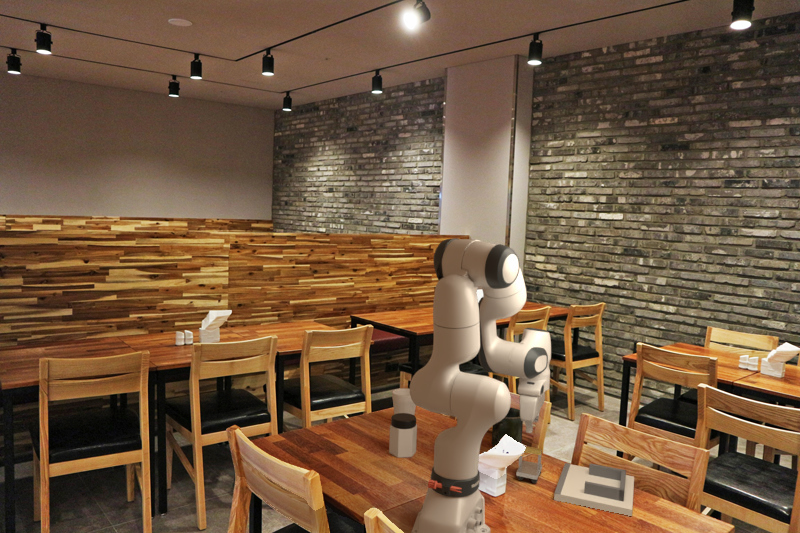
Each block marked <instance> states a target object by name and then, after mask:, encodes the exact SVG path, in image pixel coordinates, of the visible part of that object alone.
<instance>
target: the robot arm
mask: <svg viewBox="0 0 800 533" xmlns="http://www.w3.org/2000/svg"><path fill="white" fill-rule="evenodd" d="M520 266H521V265H520V258H519V256H518V254H517V252H516V251H515V250H514V249H513V248H511V247H510V246H507V245H504V244H495V243H492V242H488V241H481V240H479V239H467V238H466V239H465V238H464V239H463V238H462V239H460V238H458V237H457V238H456V237H454V238H447V239H445V240H442V241H441V242H440V243H439V244H438V246H436V248H435V250H434V254H433V267H434V271H435V275H436V278H437V280H438V281H437V283H436V285H435V288H434V295H433V303H432V304H433V306H432V321H433V322H432V323H433V324H432V326H433V328H432V329H433V343H432V344H433V346H432V353H431V356H430V357H429V358H430V359H429V360H428V362H427V363H426V364H425V365H424V366H423V367H421V368H420V369H418V370H417V371H416V372H415V373H414V375H412V378H411V380H410V384H409V389H410V396H411V399H412V401H413V403H414V404H415V405H416V406H417V407H419V408H421V409H423V410H426V411H427V412H430V413H435V414H441V415H445V416H450V417H454V418H456V426H451V427H449V428H447V429H444V430H443V431H441V432H439V434H438V435H437V436H436V437H435V440H434V446H433V447H434V450H433V451H434V453H433V454H434V455H433V466H432V468H431V472H430V478H429V480H428V483H427V491H426V494H425V498H424V501H423V504H422V506H421V510H420V511H419V512H417V515H416V519H415V522H414V525H413V527H412V530H411V532H410V533H491V528H490V527H489V526H488V525H487V524H486V522H485V521H486V520H485V518H486V516H485V513H486V512H485V511H486V510H485V507H486V506H485V497H484V495H483V494H482V493H481V491H480V489H479V487H480V482H481V476H480V470H479V461H480V460H479V459H480V451H481V446H482V441H483V439H484V437H485V435H486V433H487V432H488V430H489V429H491V427H492V426H493V425H494V424H496V423H498V422H500V421H501V420H502V419H503V418H504V417H505V416H506V415H507V413H508V411H509V409H510V408H511V404H512V397H511V393H510V390H509V388H508V386H507V384H506V383H505V382H503V381H500V380H499V379H496V378H493V377H490V376H488V375H482V374H476V373H469V372H463V371H461V370H460V365H462V364H465V363H467V362H469V361H472V360H473V359H474V358H475V357H477V355H478V361H479V364H480V366H481V368H482V369H483V370H484V371H485V372H487V373H491V374H501V375H505V376H509V377H515V378H518V386H517V393H518V394H519V400H518V401H519V410H520V418H521V421H523V422H524V424H525V433H529V434H532V433H533V430H534V426H533V424H534V423H538V422H539V420H540V418H539V417H540V413H541V409H542V407H543V405H544V403H545V399H546V391H549V390H550V384H551V382H550V381H551V370H550V363H551V359H552V341H551V340H552V339H551V334H550V331H548V330H546V329H543V328H542V329H541V328H535V327H534V328H533V327H526V328H524V329H523V332H522V336H521V341H520V342H515V341H509V340H505V339H502V338H500V337H499V336H498V334H497V333H498V332H497V322H496V321H498V320H504V319H509V318H511V317H513V316H515V315H516V314H518V313H519V312H520V311H521V310H522V309H523V307H524V306H525V304H526V302H527V298H528V297H527V286H526V284H525V279H524V276H523V272H522V269H521V267H520ZM479 287H480V288H481V290H482V293H483V296H482V297H481V298H480V299H478V296H477V291H478V290H479Z"/></svg>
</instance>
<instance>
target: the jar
mask: <svg viewBox="0 0 800 533" xmlns="http://www.w3.org/2000/svg"><path fill="white" fill-rule="evenodd" d="M390 419H391V420H390V421H391V423H390V425H389V440H388V442H389V443H388V444H389V446H388V447H389V448H388V450H389V451H388V453H389V454H390V455H392V456H395V457H396V458H398V459H399V458H412V457H413V456H414V455H415V454H416V453H417V441H418V440H417V435H418V424H417V417H416V416H415V414H414V415H412V414H408V413H398V414H394V413H393V414H392V415H391V418H390Z"/></svg>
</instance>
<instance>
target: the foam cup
mask: <svg viewBox="0 0 800 533" xmlns="http://www.w3.org/2000/svg"><path fill="white" fill-rule="evenodd" d="M391 394H392V396H391V398H392V403H393V406H392V407H393V415H394V414H398V413H408V414H412V415H414V416H415V413H416V406H417V405H415V404H414V403H413V401H412V399H411V396H410V388H404V387H403V388H402V387H401V388H396V389H393V390H392V392H391Z"/></svg>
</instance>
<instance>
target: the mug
mask: <svg viewBox="0 0 800 533" xmlns="http://www.w3.org/2000/svg"><path fill="white" fill-rule="evenodd" d="M523 426H524V421H521V418H520V408H519V409H518V408H515V407H510V409H509V411H508V413H507V415H506V416H505V417H504V418H503V419H502V420H501V421H500V422H498V423H496V424H494V425H493V426H492V428H491V429H492V430H491V445H492V447H493V448H494V446H495V445H497V444H498V443H499V441H500V439H501V438H502V437H503V436H504V435H505V434H507V435H508V436H510V437H512V438H513V439H514V440H516V441H517V442H520V443H522V444H523Z"/></svg>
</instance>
